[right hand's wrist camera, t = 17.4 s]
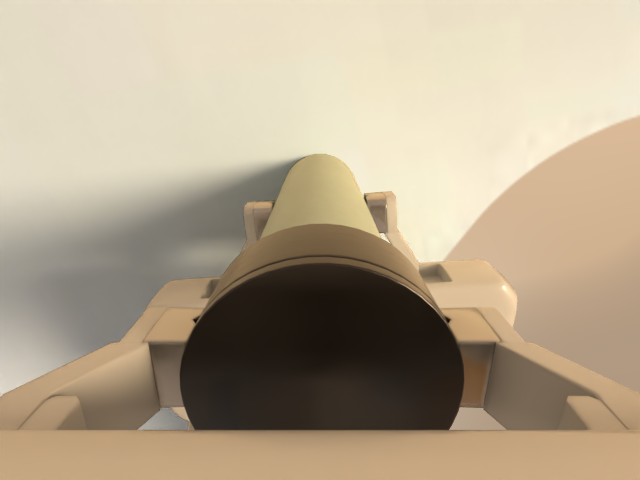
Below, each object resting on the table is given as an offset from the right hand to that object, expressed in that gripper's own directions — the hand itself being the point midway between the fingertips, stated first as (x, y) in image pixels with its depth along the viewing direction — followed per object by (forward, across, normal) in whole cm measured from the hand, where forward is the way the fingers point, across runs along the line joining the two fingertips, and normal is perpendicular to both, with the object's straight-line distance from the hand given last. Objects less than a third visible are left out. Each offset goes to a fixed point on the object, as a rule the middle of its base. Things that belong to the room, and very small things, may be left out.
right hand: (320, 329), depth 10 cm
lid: (-2, 0, 0) cm, 2 cm away
